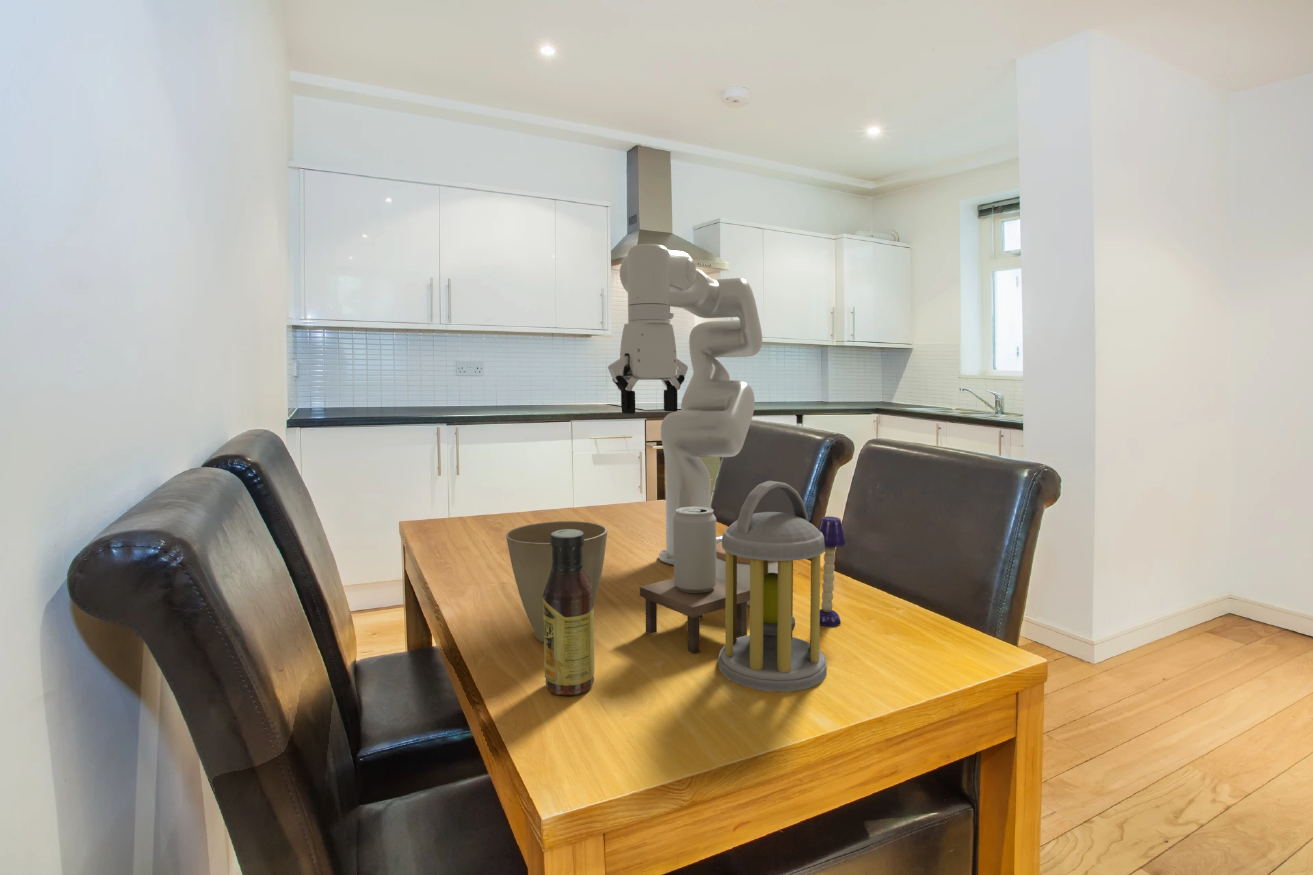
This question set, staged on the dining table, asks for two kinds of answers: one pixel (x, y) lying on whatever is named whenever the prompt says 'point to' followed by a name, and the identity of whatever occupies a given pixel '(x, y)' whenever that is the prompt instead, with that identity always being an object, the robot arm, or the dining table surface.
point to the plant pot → (550, 562)
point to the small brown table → (692, 606)
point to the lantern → (772, 597)
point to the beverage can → (694, 549)
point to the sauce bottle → (568, 618)
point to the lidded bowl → (738, 567)
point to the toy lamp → (830, 567)
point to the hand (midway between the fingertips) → (650, 412)
